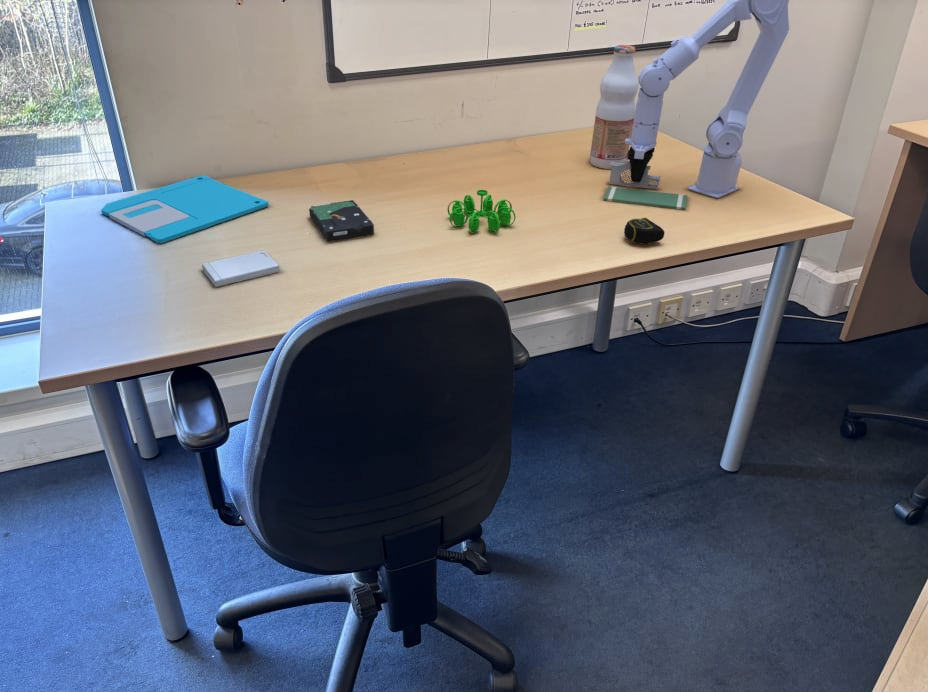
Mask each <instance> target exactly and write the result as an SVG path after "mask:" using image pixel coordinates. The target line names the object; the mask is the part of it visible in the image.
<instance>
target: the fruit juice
mask: <svg viewBox="0 0 928 692" xmlns="http://www.w3.org/2000/svg"><path fill="white" fill-rule="evenodd" d="M635 53H636V46H634V45H629V44H618V45H615V46H614V47H613V55H614V56H613V59H612V61H611V64H610V65H609V68H608V70H607V71H606V73H605V75H604V76H603V77H602V79H601V81H600V84H599V93H600V97H599V101H598V102H597V104H596V110H595V116H594V122H593V123H594V125H593V131H592V138H591V147H590V153H589V163H590V164H591V165H592V166H593V167H596V168H599V169H605V170H611V167H612V166H611V165H610V164H611V162H615V163H624V162H628V159H629V157H628V151H629V150H630V147H631V146H630V144H626V143H625V139H627V138H629V139H631V134H632V128H633V121H634V115H635V109H636V102H635V99H636V97H637V95H638V92H639V87H640V84H639V80H638V77H637V74H636V71H635V64H634V56H635Z"/></svg>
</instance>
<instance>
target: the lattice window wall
mask: <svg viewBox="0 0 928 692" xmlns="http://www.w3.org/2000/svg"><path fill="white" fill-rule="evenodd" d="M610 165H611V166H612V167H611V169H610V174H609V180H608V181H609V182H608V184H609V185H615V186H623V187H624V188H631V187H633V188H640V189H641V188H642V189H650V190H659V186H660V180H661V179H662V176H660V175H658V176H655V175H651V174H649V171H650V170H651V165H647V166H646V168H645V171H644V174H643V177H642V180H641V182H632V181H631V165H630V160H627V162H624V163H615V162H611V164H610Z"/></svg>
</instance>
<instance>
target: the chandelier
mask: <svg viewBox="0 0 928 692" xmlns="http://www.w3.org/2000/svg"><path fill="white" fill-rule="evenodd" d="M488 193H489V192H488V190H486V189H479V190H477V191H476V195H477V196H480V207H479V208H480V209H479V210H478V209H477V208H476V205H475V201H474V197H473V196H472V195H470V194H466V195H464V198H463V201H462V200H458V199H456V200H452V201H451V202H450V203H449V204H448V205H447V214H448V216H449V223H450V225H451V226H452V227H453V228H458V229H459V228H461V227H464V226H465V225H466V223H467V222H468V230H469V231H470V233H471V234H475V233H476V232H477V231H479V229H480V218H483V217H485V218H486V219H487V228H488V230H489V231H490V232H491V233H493V234H496V233H499V230H500V227H501V226H502V227H505V228H507V227H510V226H512V225H513V224H515V221H516V217H517V216H516V213H515V211H514V209H513V205H512V203H511V201H510V200H508V199H501V200H499V201H498V202H496V203H495V205H494V201H493V198H492V195H491V194H488ZM485 196H486V197H485ZM451 204H452V207H451V212H450V206H451ZM508 204H509V206H508ZM493 207H494V208H493ZM496 210H497V211H496ZM511 213H512V214H513V221H512V222H511V218H512V214H511ZM452 220H453V222H452Z"/></svg>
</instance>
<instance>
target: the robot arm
mask: <svg viewBox="0 0 928 692" xmlns="http://www.w3.org/2000/svg"><path fill="white" fill-rule="evenodd" d="M789 3H790V0H727V1H726V2H725V3H724V5H722V6H721V7H720V8H719V9H718V10H717V11H716V12H715V13H714V14H713V15H712V16H711V17H710V18H708V20H707V21H706V22H705V23H704V24H702V26H701V27H699V28H698V29H697V30H696V31H695V32H694V33H692V35H691V36H682V37H680V38H679V39H678V40H677V39H674V40H672V42H670V45H671V46H670V47H669V48H668V49H667V50H666V51H665V52H663V53H662V54H661V55H659V57H658V58H657V57H655V58H653V60H652V63H651V64H648V65H646V66H645V67H644V68H643V69H642V70H641V71H640V73H639V75H638V77H637V79H638V83H639V89H638V92H637V99H636V102H635V115H634V121H633V127H632V134H631V139H629V138H627V139H625V143H626V144H630V146H629V151H628V161H630V165H631V170H630V171H631V172H630V175H631V177H630V180H631V181H632V183H633V182H641V180H642V177H643V174H644V171H645V168H646V166H648V164H649V163H650V161H651V160H652V159H653V157H654V152H655V147H656V146H657V138H658V132H659V127H660V121H661V116H662V110H663V105H664V101H663V100H664V95H665V92H667V90H668V89H669V87H670V83H671V81H673V80H675V79H676V78H677V77H678V76H679V75H681V74H682V73H683V72H684V71H685V70H686V69H688V68H689V67H690V66H691V65H692V64H693V63H694V62H696V61H697V60H698V59H699V57H700V52H701V49H702V48H703V47H704V46H707V44H708V43H710V42H711V41H712V40H713V39H715V38H716V37H717V36H718V35H720V34H721V33H722V32H723V31H725V30H726V29H727V28H728V27H730V26H731V25H732V24H733V23H735V22H740V21H741V22H742V21H747V20H752V16H753V17H754V20H755V22H756V25H757V27H758V29H759V34H758V36H757V39H756V41H755V43H754V45H753V47H752V49H751V52H750V53H749V56H748V58H747V60H746V62H745V63H744V66H743V69H742V71H741V73H740V75H739V77H738V79H737V80H736V83H735V85H734V88H733V89H732V91H731V94H730V95H729V98H728V100H727V102H726V105H725V106H724V107H723V108H722V109H720V111H719V112H718V114H717V116H716V118H715V119H714V120H713V121H711V122H710V124H708V126H707V128H706V132H705V137H706V140H707V141H708V144H707V145H706V146H705V147H704V148H703V152H702V153H703V154H702V157H701V163H700V167H699V172H698V177H697V180H696V183H695V184H693V185H691V186H688V188H687V190H689V191H692V192H696V193H698V194H702V195H706V196H708V197H712V198H715V199H720V198H722V197H724V196H727V195H729V194H731V193H733V192H736V191H738V190H739V189H740V187H739V186H737V182H738V178H739V174H740V170H741V167H742V156H741V154H740V153H739V151H740V149H741V148H742V145H743V139H744V138H743V136H744V132H745V130H746V128H747V122H748V115H749V112H750V111H751V109H752V107H753V104H754V102H755V101H756V99H757V97H758V95H759V93H760V91H761V88H762V87H763V84H764V83H765V81H766V78H767V76H768V74H769V72H770V70H771V68H772V67H773V65H774V62H775V60H776V58H777V56H778V54H779V52H780V50H781V48H782V46H783V44H784V42H785V40H786V38H787V36H788V34H789V32H790V31H789V30H790V21H789V20H790V19H789ZM631 181H630V182H631Z"/></svg>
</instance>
